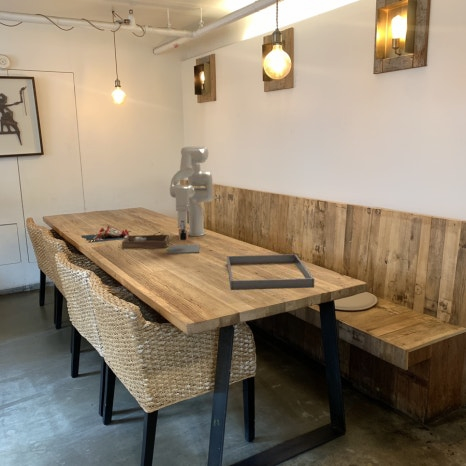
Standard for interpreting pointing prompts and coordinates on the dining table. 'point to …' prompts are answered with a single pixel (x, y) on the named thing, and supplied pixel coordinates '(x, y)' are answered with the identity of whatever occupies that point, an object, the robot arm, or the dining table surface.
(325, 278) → the dining table surface
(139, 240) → the reed diffuser
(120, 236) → the platter
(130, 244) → the walnut tray
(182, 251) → the slate mat
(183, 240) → the terracotta block
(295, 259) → the charcoal rectangular open frame
